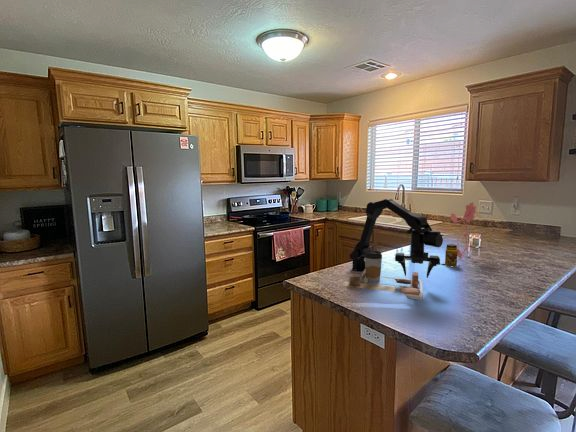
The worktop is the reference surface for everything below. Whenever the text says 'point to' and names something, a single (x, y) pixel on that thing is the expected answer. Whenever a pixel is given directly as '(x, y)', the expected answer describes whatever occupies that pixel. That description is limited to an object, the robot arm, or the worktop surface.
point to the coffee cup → (373, 265)
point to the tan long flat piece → (372, 286)
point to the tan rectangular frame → (413, 282)
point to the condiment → (451, 255)
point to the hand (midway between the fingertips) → (416, 276)
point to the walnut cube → (354, 280)
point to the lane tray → (408, 294)
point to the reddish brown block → (410, 291)
